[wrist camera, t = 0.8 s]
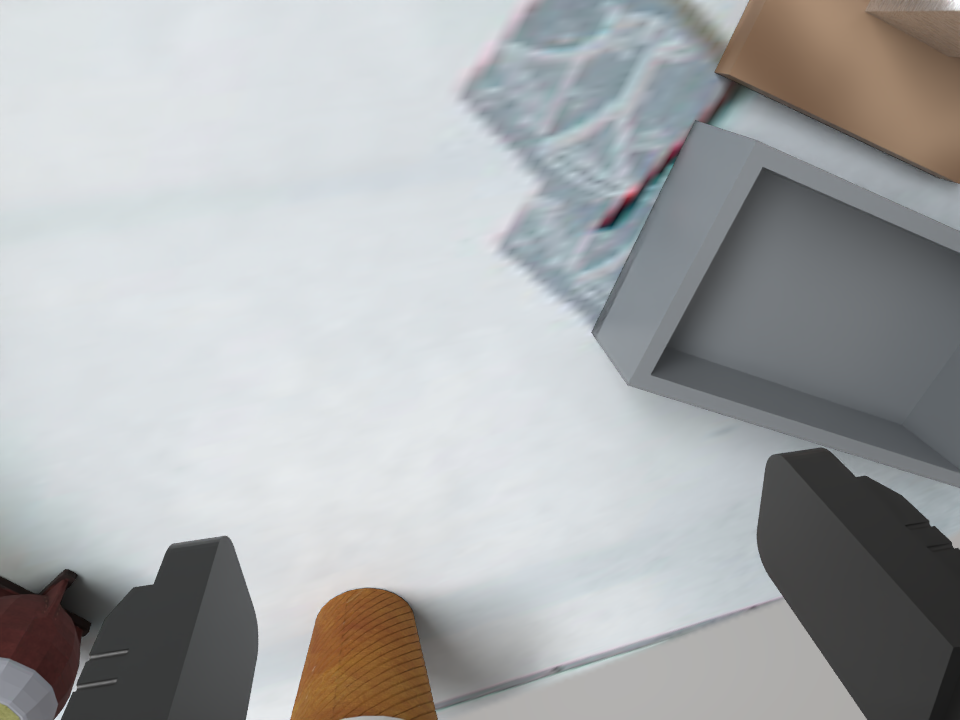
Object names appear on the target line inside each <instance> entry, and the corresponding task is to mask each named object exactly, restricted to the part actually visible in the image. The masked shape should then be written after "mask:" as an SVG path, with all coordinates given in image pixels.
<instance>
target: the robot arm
mask: <svg viewBox="0 0 960 720" xmlns="http://www.w3.org/2000/svg"><path fill="white" fill-rule="evenodd" d="M757 545H758V550H759V554H760V558H761V561H762V563H763V566H764V568H765V570H766V572H767V573H768V575H769V577H770V578H771V580H772V581H773V583H774V584H775V585H776V587H777V588H778V590H779V591H780V593H781V594H782V596H783V597H784V599H785V600H786V602H787V603H788V604H789V606H790V607H791V609H792V610H793V612H794V613H795V614H796V616H797V618H798V619H799V621H800V622H801V623H802V625H803V626H804V628H805V629H806V631H807V632H808V634H809V635H810V637H811V638H812V640H813V641H814V642H815V644H816V645H817V647H818V648H819V650H820V651H821V653H822V654H823V656H824V657H825V659H826V660H827V661H828V663H829V664H830V666H831V667H832V669H833V670H834V672H835V673H836V675H837V676H838V678H839V679H840V680H841V682H842V683H843V685H844V686H845V688H846V689H847V691H848V692H849V694H850V695H851V697H852V698H853V699H854V701H855V702H856V704H857V705H858V707H859V708H860V710H861V711H862V713H863V714H864V716H865V717H866V718H867V720H960V550H959V549H958V548H955V549H954V548H953V546H952V542H951V541H950V540H949V539H948V538H947V537H946V536H945V535H943V534H942V533H941V532H940V531H939V530H938V529H937V528H936V527H935V526H933V527H931V526H930V524H929V520H928V519H926V518H925V517H924V516H923V515H922V514H921V513H920V512H919V511H918V510H917V509H916V508H915V507H914V506H913V505H912V504H910V503H909V502H908V501H907V500H906V499H905V498H904V497H903V496H902V495H900V494H898V493H896V492H895V491H893V490H891V489H889V488H887V487H885V486H884V485H882V484H880V483H878V482H876V481H874V480H872V479H871V478H869V477H867V476H861V477H856V476H854V475H853V474H852V473H851V472H850V471H849V470H848V469H847V468H846V467H845V466H844V465H843V464H842V463H841V462H840V461H839V460H838V459H837V458H836V457H835V456H834V455H833V454H832V453H831V452H830V451H828V450H827V449H824V448H815V449H808V450H801V451H795V452H788V453H782V454H775V455H772V456H771V457H770V458H769V459H768V461H767V464H766V468H765V475H764V482H763V490H762V497H761V505H760V512H759V519H758V527H757ZM257 654H258V626H257V619H256V614H255V610H254V607H253V604H252V601H251V598H250V595H249V592H248V588H247V585H246V582H245V579H244V576H243V573H242V570H241V567H240V564H239V561H238V558H237V555H236V552H235V549H234V546H233V543H232V541H231V540H230V538H229V537H227V536H221V537H214V538H208V539H201V540H194V541H188V542H181V543H174V544H172V545H170V546H169V548H168V549H167V551H166V553H165V556H164V558H163V561H162V564H161V566H160V569H159V572H158V574H157V577H156V579H155V582H154V584H153V585H147V586H140V587H134V588H133V589H132V590H131V591H130V592H129V593H128V594H127V595H126V596H125V598H124V599H123V600H122V601H121V602H120V603H119V604H118V605H117V607H116V608H115V609H114V610H113V611H112V612H111V613H110V614H109V616H108V617H107V618H106V619H105V620H104V623H103V625H102V627H101V629H100V632H99V634H98V636H97V639H96V641H95V643H94V645H93V648H92V650H91V652H90V661H88V662H86V664H85V666H84V668H83V670H82V673H81V675H80V677H79V680H78V682H77V684H76V685H77V690H76V692H73V693H72V695H71V698H70V700H69V702H68V705H67V707H66V709H65V711H64V714H63V716H62V718H61V720H246V715H247V710H248V704H249V699H250V693H251V688H252V682H253V677H254V671H255V666H256V660H257Z"/></svg>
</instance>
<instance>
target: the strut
mask: <svg viewBox="0 0 960 720" xmlns="http://www.w3.org/2000/svg"><path fill="white" fill-rule="evenodd" d="M865 12H867V13H869V14H871V15H873V16H874V17H876V18H878V19H880V20H882V21H884V22H886V23H887V24H889V25H891V26H893V27H895V28H897V29H899V30H900V31H902V32H904V33H906V34H908V35H910V36H911V37H913V38H915V39H917V40H919V41H921V42H923V43H924V44H926V45H928V46H930V47H932V48H934V49H935V50H937V51H939V52H941V53H943V54H945V55H947V56H948V57H960V0H871V1H870V3H869V5H868V6H867V8H866V10H865Z"/></svg>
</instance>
